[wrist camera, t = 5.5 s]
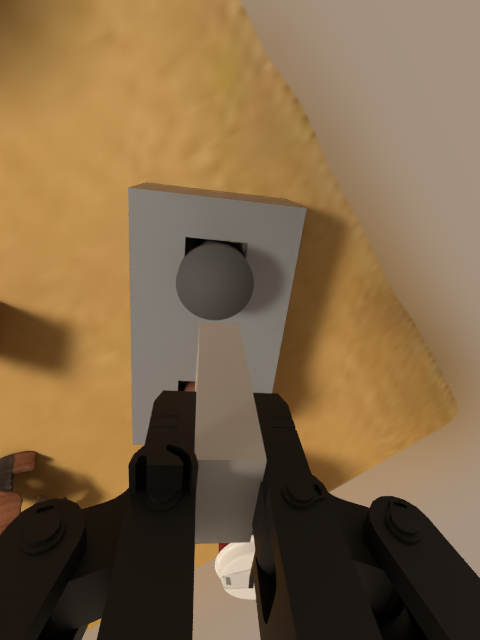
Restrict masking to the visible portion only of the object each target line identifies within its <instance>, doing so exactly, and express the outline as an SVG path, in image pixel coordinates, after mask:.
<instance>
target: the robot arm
mask: <svg viewBox="0 0 480 640" xmlns="http://www.w3.org/2000/svg"><path fill="white" fill-rule="evenodd" d="M252 531H253V536H254V544H255V553H254V558H253V562H252V567H251V571H250V576H249V587H248V588H253V587H254V585H255V593H256V602H257V611H258V620H259V628H260V637H261V640H480V578H479V577H478V576H477V575H476V573H475V572H474V571H473V570H472V569H471V567H470V566H469V565H468V564H467V563H466V562H465V561H464V559H463V558H462V557H461V556H460V555H459V554H458V552H457V551H456V550H455V549H454V548H453V547H452V545H451V544H450V543H449V542H448V541H447V540H446V539H445V537H444V536H443V535H442V534H441V533H440V531H439V530H438V529H437V528H436V527H435V526H434V525H433V523H432V522H431V521H430V520H429V519H428V518H427V517H426V516H425V515H424V514H423V513H422V512H421V511H420V510H419V509H418V508H417V507H416V506H414V505H412V504H410V503H409V502H407V501H405V500H403V499H400V498H397V497H393V496H382V497H379V498H377V499H376V500H374V501H373V502H372V504H371V506H370V508H368V507H365V506H362V505H358V504H355V503H352V502H348V501H345V500H342V499H339V498H337V497H335V496H333V495H331V494H330V493H328V491H327V490H326V488H325V486H324V485H323V483H322V482H320V481H319V480H318V479H317V478H316V477H315V476H313V475H312V474H311V471H310V469H309V466H308V463H307V460H306V457H305V454H304V451H303V448H302V445H301V442H300V439H299V436H298V433H297V431H296V430H295V425H294V422H293V420H292V416H291V413H290V410H289V407H288V404H287V403H286V402H285V401H284V400H283V399H282V398H281V397H280V396H279V395H278V394H275V393H253V391H252V386H251V381H250V376H249V371H248V366H247V362H246V357H245V352H244V347H243V342H242V337H241V332H240V328H239V324H225V323H210V322H200V326H199V339H198V353H197V366H196V379H195V392H194V391H168V390H163V391H162V393H161V394H160V395H159V396H158V397H157V398H156V399H155V401H154V403H153V408H152V413H151V417H150V422H149V428H148V431H147V436H146V441H145V445H144V446H143V447H142V448H141V449H139V450H138V451H137V452H136V453H135V454H134V455H133V457H132V459H131V461H130V463H129V488H128V489H127V490H126V491H125V492H124V493H123V494H121V495H119V496H118V497H116V498H115V499H112V500H110V501H107V502H105V503H101V504H98V505H95V506H91V507H88V508H85V509H81V508H80V507H79V505H78V504H77V503H74V502H72V501H70V500H68V499H50V500H46V501H42V502H39V503H36V504H35V505H33V506H31V507H29V508H28V509H26V510H24V511H22V512H21V513H20V514H19V515H18V516H17V517H16V518H15V519H14V520H13V521H12V522H11V523H10V524H9V525H8V526H7V527H6V529H5V530H4V531H3V532H2V534H1V535H0V640H82V637H83V635H84V633H85V631H86V629H87V626H88V624H89V623H91V622H94V621H96V620H98V619H101V618H102V619H101V623H100V628H99V632H98V637H97V640H192V631H193V627H192V626H193V590H194V551H195V544H199V543H246V542H250V540H251V536H252Z"/></svg>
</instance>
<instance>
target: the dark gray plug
mask: <svg viewBox="0 0 480 640" xmlns="http://www.w3.org/2000/svg"><path fill="white" fill-rule="evenodd" d="M253 289H254V278H253V273H252V270H251V268H250V265H249V263H248V261H247V260H246V258H245V257H244V256H243V255H242V254H241V253H240V252H239V251H238V250H237V249H235V248H233V246H232V244H231V242H230V241H221V240H211V239H201V238H198V239H197V240H196V242H195V243H194V246H193V249H192V250H191V251H190V252H189V253H188V254H187V255H186V256H185V257H184V258H183V260H182V262H181V263H180V266H179V269H178V272H177V276H176V290H177V294H178V297H179V299H180V301H181V302H182V304H183V305H184V306H185V308H186V309H187V310H188V311H190V312H191V313H192V314H194V315H196V316H198V317H200V318H203V319H207V320H223V319H227V318H230V317H232V316H234V315H236V314H237V313H239V312H240V311H241V310H242V309H243V308H244V307H245V306H246V305H247V304H248V302H249V300H250V298H251V296H252V293H253Z"/></svg>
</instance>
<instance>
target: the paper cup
mask: <svg viewBox="0 0 480 640" xmlns="http://www.w3.org/2000/svg"><path fill="white" fill-rule="evenodd" d="M254 553H255V544H254V536H253V531H252V536H251V540H250V542H246V543H219V554H218V556H217V558H216V561H215V569H216V572H217V574H218V576H219V577H220V579H221V581H222V583H223V587H224V589H225V591H226V592H228V593H229V594H231V595H233V596H235V597H238V598H242V599H256V593H255V585H254V587H253V588H248V587H249V576H250V571H251V567H252V562H253V558H254Z"/></svg>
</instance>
